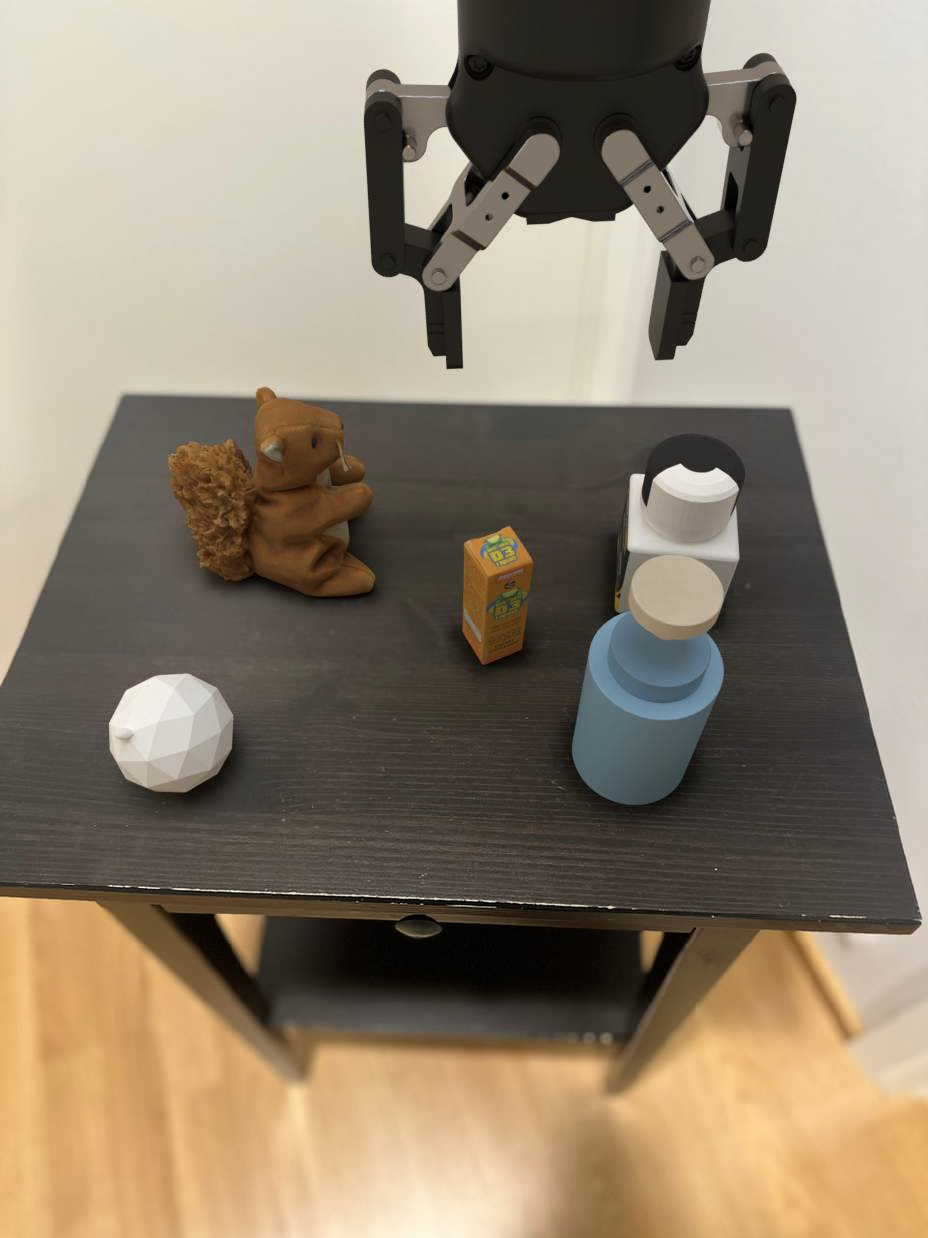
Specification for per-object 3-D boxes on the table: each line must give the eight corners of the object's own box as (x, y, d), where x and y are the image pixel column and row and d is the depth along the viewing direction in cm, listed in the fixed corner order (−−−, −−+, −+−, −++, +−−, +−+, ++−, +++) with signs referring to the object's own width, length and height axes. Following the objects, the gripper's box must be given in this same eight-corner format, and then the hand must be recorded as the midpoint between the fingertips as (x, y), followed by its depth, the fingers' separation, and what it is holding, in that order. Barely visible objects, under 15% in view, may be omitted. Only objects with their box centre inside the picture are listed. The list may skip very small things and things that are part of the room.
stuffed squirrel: (384, 595, 63) (365, 460, 52) (187, 615, 62) (127, 482, 51) (376, 496, 69) (357, 357, 58) (196, 514, 68) (144, 376, 57)
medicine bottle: (617, 539, 66) (641, 415, 56) (713, 548, 65) (754, 424, 55) (613, 614, 62) (639, 494, 52) (716, 625, 61) (761, 505, 51)
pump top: (700, 592, 46) (713, 551, 43) (718, 661, 43) (733, 623, 40) (616, 595, 45) (624, 555, 43) (629, 665, 43) (639, 627, 40)
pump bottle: (674, 701, 57) (714, 587, 48) (696, 802, 53) (745, 700, 43) (565, 706, 57) (583, 593, 47) (579, 808, 53) (602, 707, 43)
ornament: (259, 788, 54) (166, 799, 46) (168, 786, 57) (66, 796, 50) (261, 674, 55) (169, 667, 47) (170, 679, 58) (71, 673, 50)
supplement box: (483, 670, 59) (484, 577, 51) (461, 633, 61) (459, 537, 53) (526, 652, 60) (534, 558, 52) (504, 616, 62) (508, 519, 53)
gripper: (316, -113, 21) (384, 420, 34) (911, -140, 21) (750, 404, 34) (333, -187, 25) (387, 308, 38) (821, -209, 25) (710, 293, 38)
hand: (557, 353), depth 36 cm, fingers open, 8 cm apart
